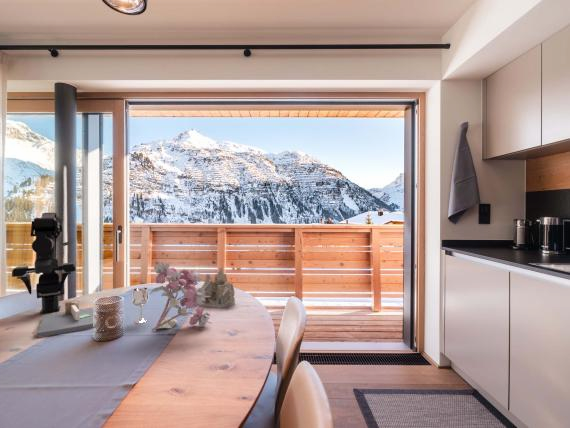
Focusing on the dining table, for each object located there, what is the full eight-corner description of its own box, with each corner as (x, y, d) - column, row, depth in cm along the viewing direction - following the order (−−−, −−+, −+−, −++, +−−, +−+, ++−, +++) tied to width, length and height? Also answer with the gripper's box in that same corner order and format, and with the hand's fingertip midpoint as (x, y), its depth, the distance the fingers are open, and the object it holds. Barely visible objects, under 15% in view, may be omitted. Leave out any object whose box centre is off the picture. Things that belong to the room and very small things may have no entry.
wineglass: (142, 324, 114) (142, 291, 114) (128, 323, 115) (128, 290, 115) (152, 318, 119) (152, 287, 119) (139, 317, 120) (138, 286, 120)
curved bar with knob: (64, 312, 123) (64, 302, 123) (77, 309, 126) (77, 299, 126) (70, 322, 112) (70, 311, 112) (84, 319, 115) (84, 308, 115)
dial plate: (44, 318, 121) (44, 313, 121) (92, 311, 129) (92, 306, 129) (36, 337, 102) (36, 332, 102) (94, 327, 111) (93, 322, 111)
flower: (165, 344, 93) (197, 265, 100) (123, 322, 104) (155, 254, 112) (208, 349, 108) (233, 281, 116) (167, 330, 120) (193, 269, 128)
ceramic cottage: (196, 299, 144) (197, 267, 143) (232, 297, 150) (233, 266, 149) (198, 312, 130) (199, 276, 129) (237, 309, 135) (239, 275, 134)
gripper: (8, 255, 106) (9, 301, 106) (74, 251, 116) (75, 293, 116) (14, 251, 115) (15, 294, 115) (75, 248, 125) (76, 287, 125)
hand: (46, 292), depth 118 cm, fingers open, 9 cm apart
